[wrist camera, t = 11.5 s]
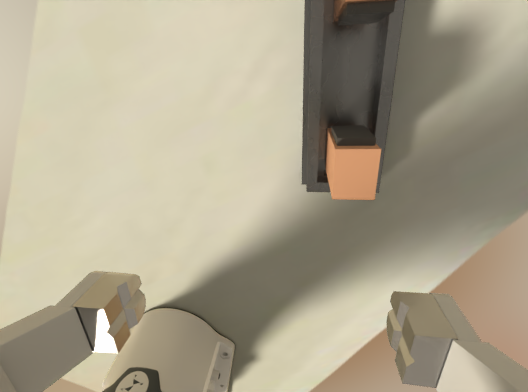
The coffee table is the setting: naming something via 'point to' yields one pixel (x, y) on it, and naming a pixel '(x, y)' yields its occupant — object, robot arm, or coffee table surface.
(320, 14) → the dark grey tray
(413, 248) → the coffee table surface
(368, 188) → the orange block
